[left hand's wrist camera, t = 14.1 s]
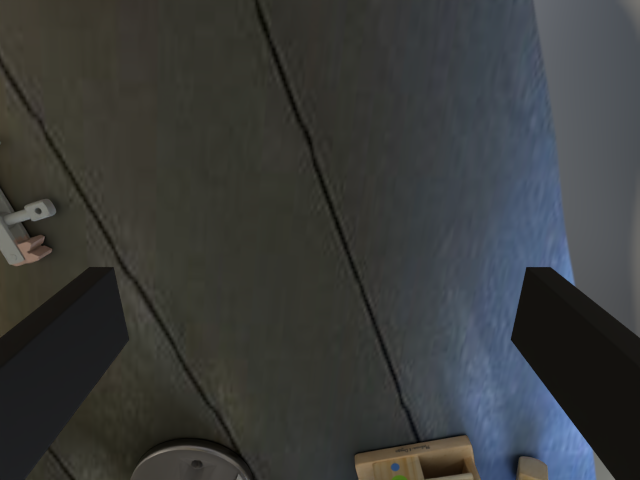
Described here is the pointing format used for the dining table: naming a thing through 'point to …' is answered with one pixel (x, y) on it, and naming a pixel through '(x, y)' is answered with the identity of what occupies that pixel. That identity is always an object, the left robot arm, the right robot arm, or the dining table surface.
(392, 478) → the pounding bench toy
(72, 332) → the left robot arm
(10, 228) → the clamp
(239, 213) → the dining table surface
